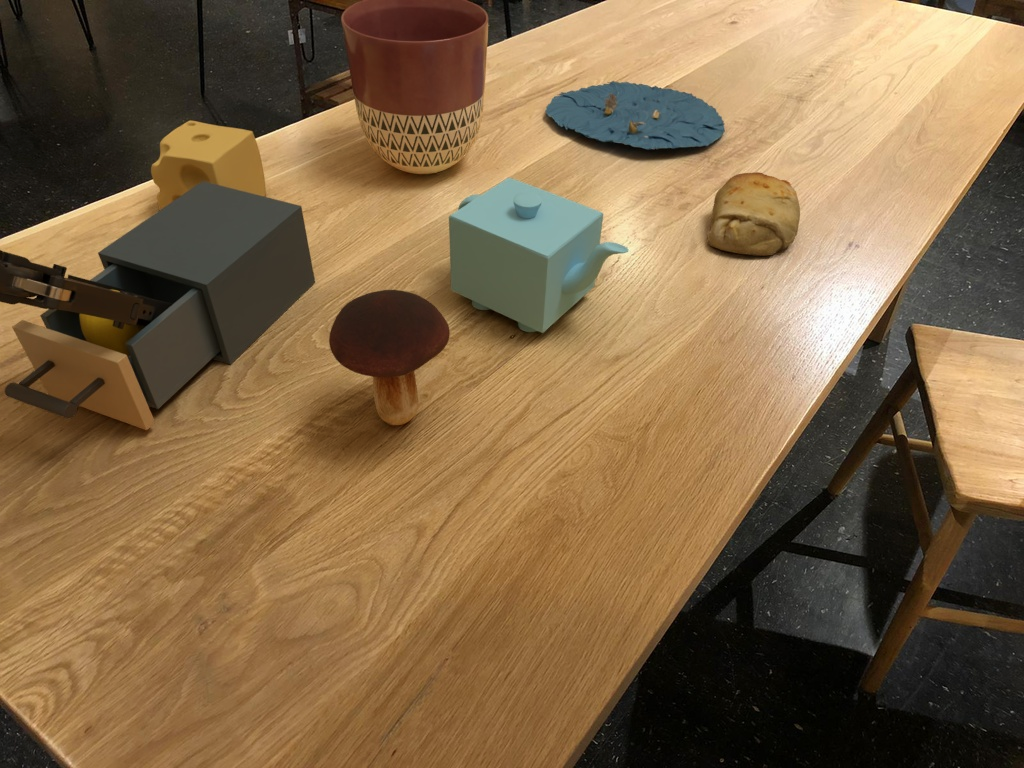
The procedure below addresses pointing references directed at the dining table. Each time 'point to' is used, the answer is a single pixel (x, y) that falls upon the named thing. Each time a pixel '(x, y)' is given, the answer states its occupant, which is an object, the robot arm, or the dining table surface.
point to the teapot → (526, 252)
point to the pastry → (754, 215)
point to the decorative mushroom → (389, 346)
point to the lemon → (108, 333)
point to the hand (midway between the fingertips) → (142, 309)
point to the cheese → (207, 161)
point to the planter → (418, 78)
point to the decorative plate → (638, 115)
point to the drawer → (118, 354)
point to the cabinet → (225, 257)
